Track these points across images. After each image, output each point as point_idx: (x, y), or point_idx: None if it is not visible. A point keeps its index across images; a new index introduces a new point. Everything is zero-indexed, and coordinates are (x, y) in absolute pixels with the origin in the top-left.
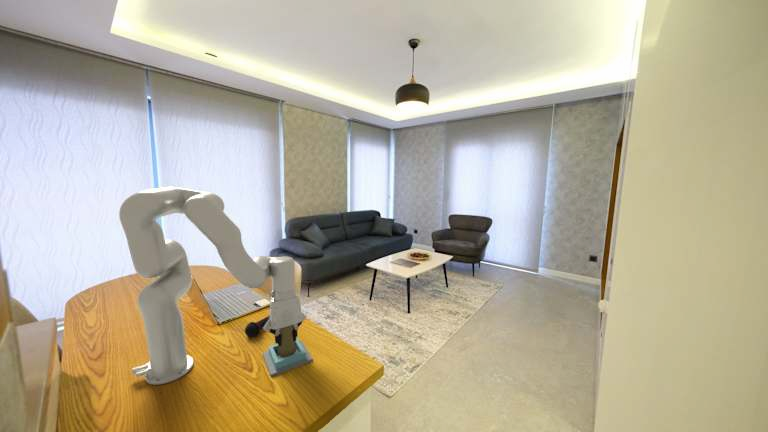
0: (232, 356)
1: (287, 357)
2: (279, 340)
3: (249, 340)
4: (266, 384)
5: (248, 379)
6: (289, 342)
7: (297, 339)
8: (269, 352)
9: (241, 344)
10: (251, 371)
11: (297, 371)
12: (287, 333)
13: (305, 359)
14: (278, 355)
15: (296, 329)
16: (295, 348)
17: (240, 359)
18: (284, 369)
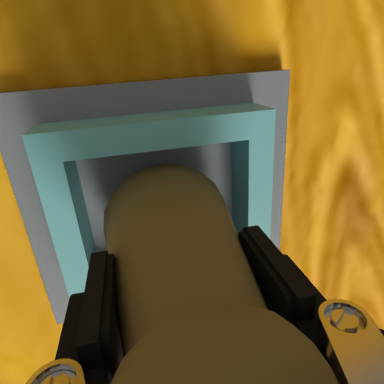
0: (377, 298)
1: (183, 133)
2: (277, 257)
3: None
4: (318, 10)
5: (377, 110)
6: (167, 228)
7: None
8: None
9: None
10: (348, 167)
11: (119, 30)
12: (213, 306)
13: (44, 116)
14: None
15: (61, 371)
16: (106, 217)
17: (359, 270)
18: (204, 76)
